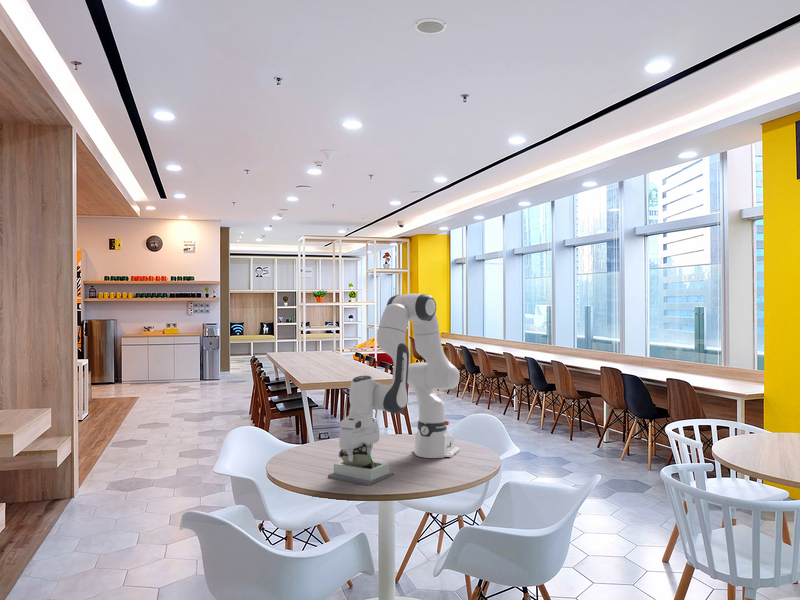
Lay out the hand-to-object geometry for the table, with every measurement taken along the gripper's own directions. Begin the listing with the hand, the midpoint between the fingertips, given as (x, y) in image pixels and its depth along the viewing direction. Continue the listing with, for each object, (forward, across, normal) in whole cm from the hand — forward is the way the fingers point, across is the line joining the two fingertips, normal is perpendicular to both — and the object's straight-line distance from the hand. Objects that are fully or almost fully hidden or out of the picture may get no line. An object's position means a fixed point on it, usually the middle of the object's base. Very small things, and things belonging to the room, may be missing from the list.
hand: (359, 458), depth 199 cm
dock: (+7, -1, 0) cm, 7 cm away
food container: (+3, -4, 0) cm, 5 cm away
